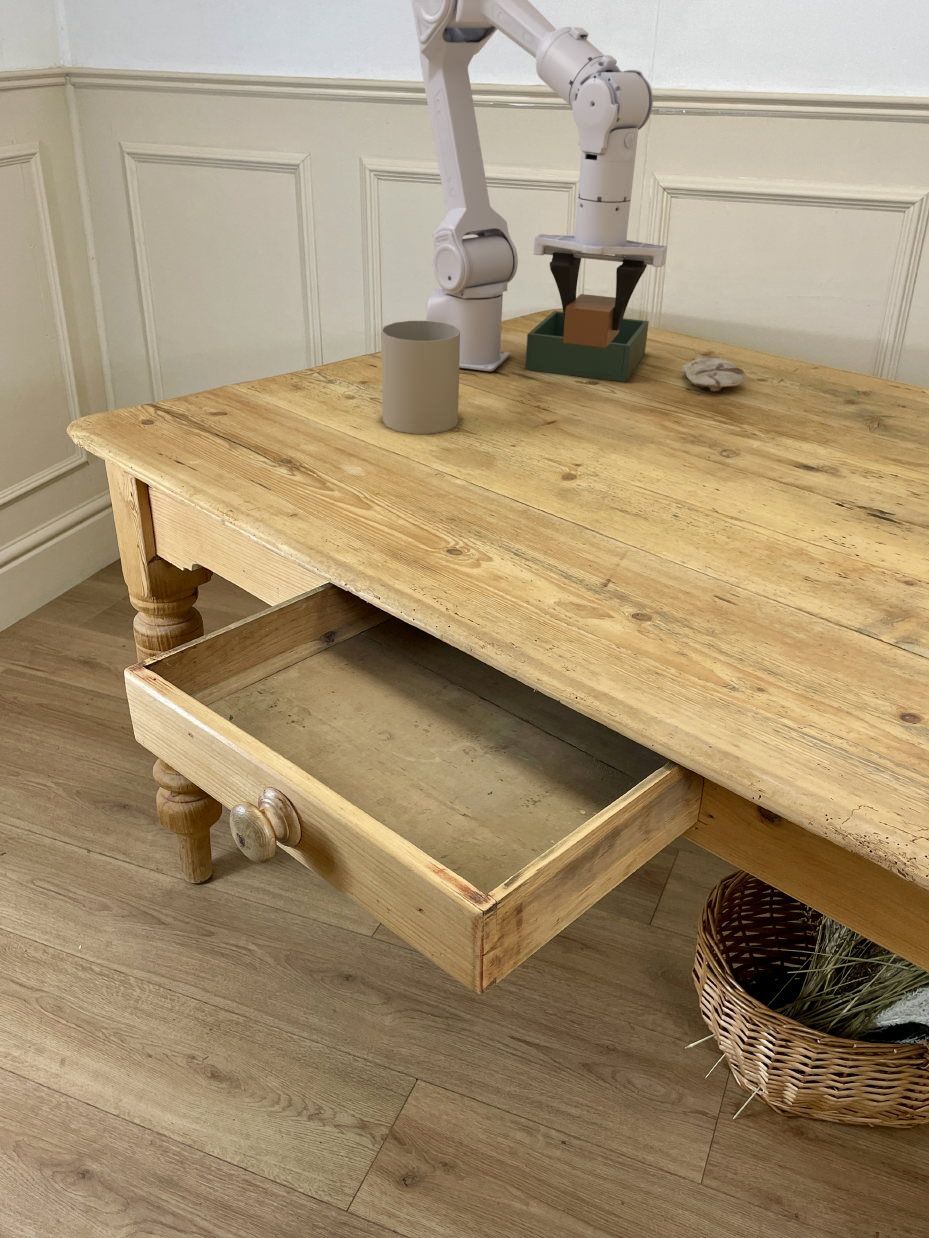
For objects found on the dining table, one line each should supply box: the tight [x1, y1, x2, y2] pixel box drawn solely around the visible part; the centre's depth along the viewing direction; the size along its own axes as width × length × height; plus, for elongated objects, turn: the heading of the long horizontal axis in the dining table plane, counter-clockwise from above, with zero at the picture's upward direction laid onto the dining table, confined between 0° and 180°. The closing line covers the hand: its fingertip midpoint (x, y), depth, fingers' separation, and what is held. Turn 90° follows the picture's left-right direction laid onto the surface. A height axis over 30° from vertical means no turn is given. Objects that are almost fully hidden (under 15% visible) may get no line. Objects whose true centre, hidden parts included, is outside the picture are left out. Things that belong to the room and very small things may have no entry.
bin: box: [524, 310, 649, 383], centre depth 131 cm, size 13×13×5 cm
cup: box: [380, 320, 460, 435], centre depth 108 cm, size 8×8×10 cm
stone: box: [681, 354, 747, 392], centre depth 125 cm, size 10×7×3 cm
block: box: [563, 293, 619, 348], centre depth 114 cm, size 5×7×4 cm
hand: (592, 325), depth 114 cm, fingers closed on block, 5 cm apart
